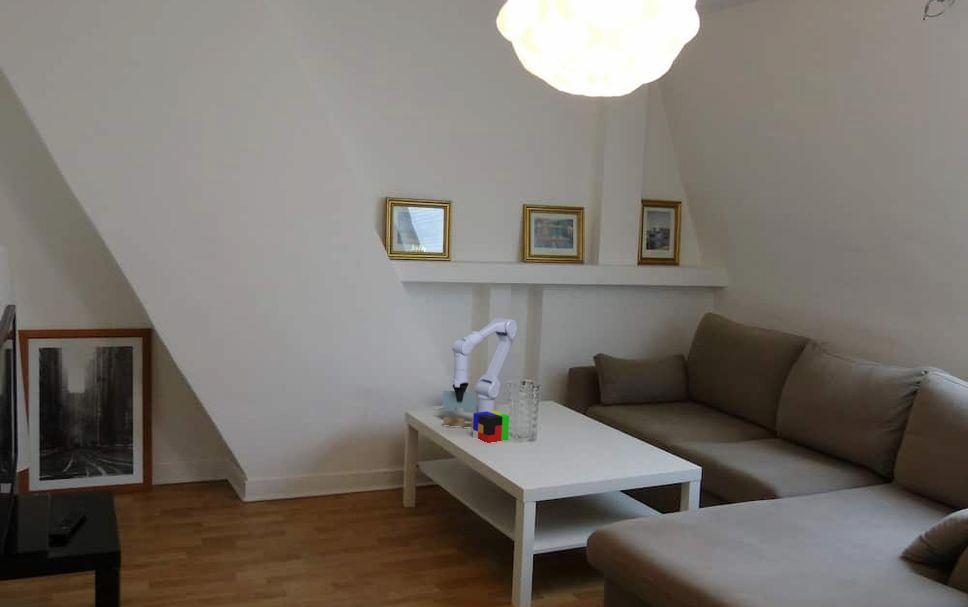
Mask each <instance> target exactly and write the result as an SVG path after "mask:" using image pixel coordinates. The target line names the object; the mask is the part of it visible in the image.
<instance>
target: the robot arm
mask: <svg viewBox="0 0 968 607" xmlns="http://www.w3.org/2000/svg"><path fill="white" fill-rule="evenodd" d="M517 332H518V325H517V321H516V320H515V319H509V318H505V317H504V318H503V317H501V316H497V317H495V318H494V319H492V320H491V321H490V323H489V324H487V325H486V326H484V327H482V329H481V330H479V331H476V330H475V331H473V330H472V331H470V334H468V335H466V336H464V337H462V338H461V339H457V340H455V341H454V342H453V344H452V346H451V350H452V352H453V356H454V370H453V374H454V375H453V378H451V379H450V381H452V382H454V383H453V384H452V389H453V391H455V393H456V399H457V402H462V400H463V395H464V392H466V391H467V388H468V387H469V355H470V354H471V353H472V350H473V349H474V348H476V347H477V346H479V345H480V344H482V343H483V341H484V339H485V338H487V337H489V336H490V335H492V334H493V335H494V333H495V334H496V336H497V338H498V339H499V343H498V345H497V348H496V351H495V352H494V354H493V357H492V360H491V362H490V364H489V365H488V369H487V372H486V373H485V374H482V376H480V377H479V380H478V381H477V382H476V383H475V385H474V393H477V413H479V412H486V411H493V410H494V411H496V399H497V397H498V396H499V393H500V388H501V384H502V383H500V381H499V376H500V375H501V372H502V370H503V368H504V365H505V363H506V361H507V358H508V356H509V353H510V351H511V348H512V347H513V344H514V341H515V340H514V339H515V336H516V333H517Z"/></svg>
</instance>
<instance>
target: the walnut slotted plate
mask: <svg viewBox="0 0 968 607" xmlns="http://www.w3.org/2000/svg"><path fill="white" fill-rule="evenodd" d="M444 425H449V426H460V427H471V428H473V419H472V420H471V422H470V423H468V422H465V418H460V417H446V416H444V417H443V426H444Z"/></svg>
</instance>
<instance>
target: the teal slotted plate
mask: <svg viewBox="0 0 968 607" xmlns="http://www.w3.org/2000/svg"><path fill="white" fill-rule="evenodd" d="M442 395H443V398H442V399H443V400H442V404H443V405H442V411H447V412H457V408H462V409H463V410H462V411H463V413H471V414H474V413H478V397H477V393H476V392H470V391H469V392H464V395H463V400H462V402H457V399H456V393H455V390H453V391H452V390H443V394H442Z"/></svg>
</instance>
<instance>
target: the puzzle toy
mask: <svg viewBox="0 0 968 607" xmlns="http://www.w3.org/2000/svg"><path fill="white" fill-rule="evenodd" d="M472 418H473V429H472V438H473V437H475V438H478V439H480V440H482V441H484V442H487V443H490V444H492V443H491V442H496V443H498V442H497V441H502V442H504V441H503V440H508V441H509V435H510V434H509V431H510V430H509V429H510V415H508V414H506V413H504V412H503V413H502V412H499V411H497V410H495V411H494V410H493V411H486V412H479V413H478V412H476V413H473V417H472ZM482 441H481V442H482ZM484 442H483V443H484ZM487 443H486V444H487Z"/></svg>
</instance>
